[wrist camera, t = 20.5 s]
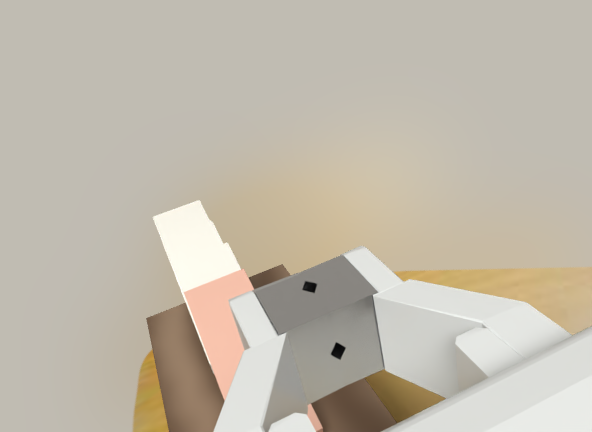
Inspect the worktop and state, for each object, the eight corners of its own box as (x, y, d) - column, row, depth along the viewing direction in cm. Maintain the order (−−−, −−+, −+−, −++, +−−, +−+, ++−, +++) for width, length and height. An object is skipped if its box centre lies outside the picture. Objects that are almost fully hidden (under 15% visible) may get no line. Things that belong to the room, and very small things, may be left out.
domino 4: (323, 437, 33) (246, 280, 42) (322, 427, 32) (243, 268, 41) (251, 473, 32) (188, 303, 41) (248, 464, 31) (183, 292, 40)
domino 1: (251, 311, 46) (202, 210, 55) (249, 301, 45) (199, 199, 53) (198, 334, 44) (156, 227, 53) (195, 324, 43) (152, 216, 52)
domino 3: (271, 347, 41) (214, 231, 50) (269, 337, 40) (211, 220, 49) (213, 373, 40) (165, 250, 49) (209, 364, 39) (161, 239, 48)
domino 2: (297, 386, 37) (230, 253, 46) (296, 376, 36) (227, 242, 45) (233, 417, 36) (177, 274, 45) (229, 408, 35) (172, 263, 44)
